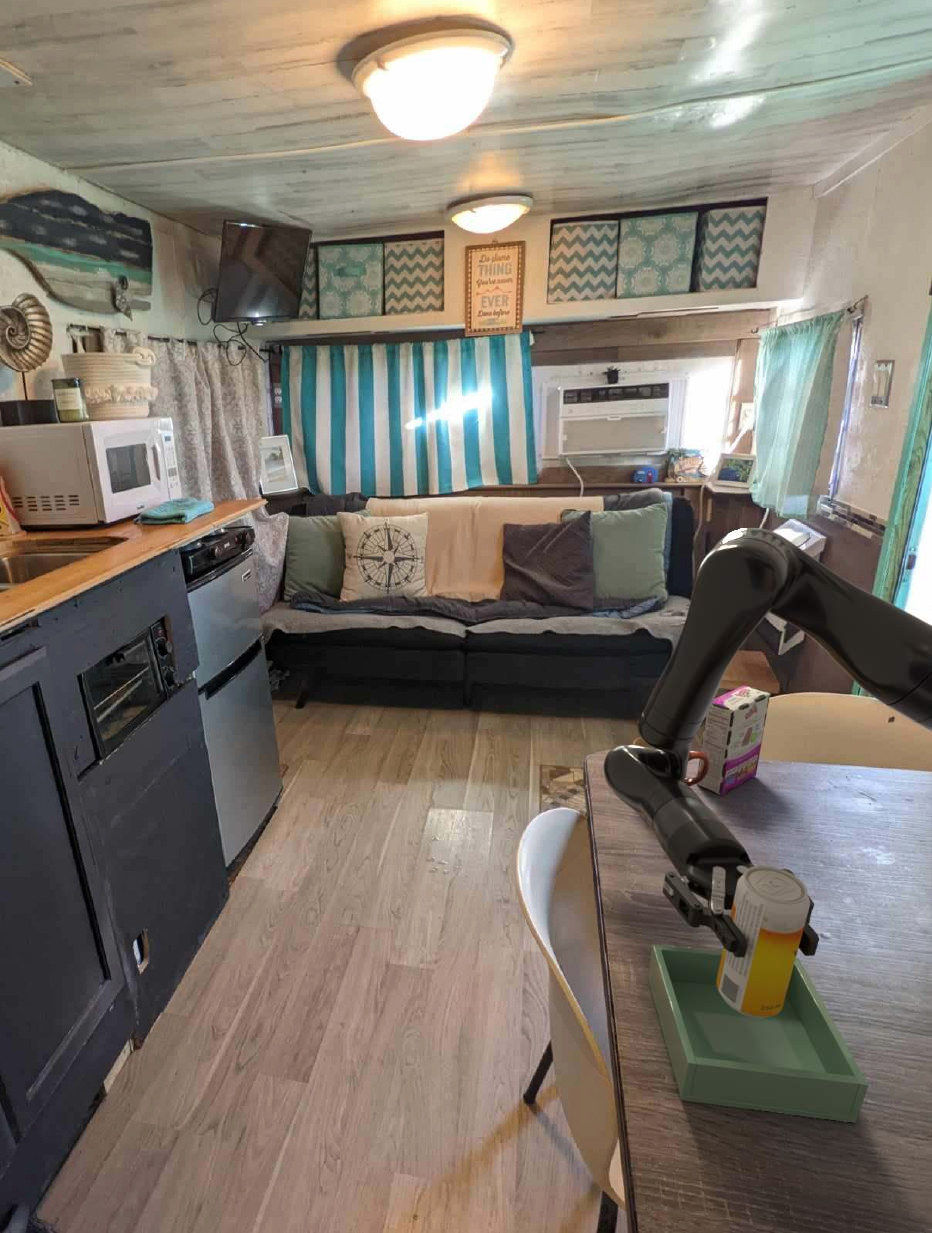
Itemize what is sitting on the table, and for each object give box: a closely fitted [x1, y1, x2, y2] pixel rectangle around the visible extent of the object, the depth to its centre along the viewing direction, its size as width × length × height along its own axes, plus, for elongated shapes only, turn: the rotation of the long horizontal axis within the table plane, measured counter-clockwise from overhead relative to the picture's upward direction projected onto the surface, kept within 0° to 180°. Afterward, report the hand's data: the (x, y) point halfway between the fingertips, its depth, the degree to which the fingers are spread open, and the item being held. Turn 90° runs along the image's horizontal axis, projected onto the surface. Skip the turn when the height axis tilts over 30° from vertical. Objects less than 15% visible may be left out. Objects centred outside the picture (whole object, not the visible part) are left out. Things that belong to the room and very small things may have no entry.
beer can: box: [716, 865, 810, 1018], centre depth 69 cm, size 6×6×15 cm
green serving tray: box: [647, 944, 869, 1124], centre depth 73 cm, size 16×16×5 cm
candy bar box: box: [696, 685, 771, 796], centre depth 119 cm, size 11×5×16 cm, turn 122°
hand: (777, 949), depth 66 cm, fingers closed on beer can, 6 cm apart
